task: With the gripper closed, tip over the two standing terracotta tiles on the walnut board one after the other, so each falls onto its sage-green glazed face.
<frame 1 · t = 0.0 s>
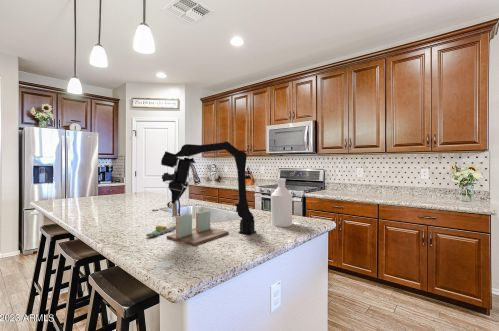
hand: (174, 202, 127), 15 cm above the worktop, tool pointing down, fingers open, 9 cm apart
bottle: (281, 224, 148), on the worktop
board: (198, 236, 124), on the worktop
tile b: (184, 235, 121), point 1 cm above the worktop, touching board
tile a: (203, 229, 131), point 1 cm above the worktop, touching board
flamethrower: (166, 231, 135), on the worktop
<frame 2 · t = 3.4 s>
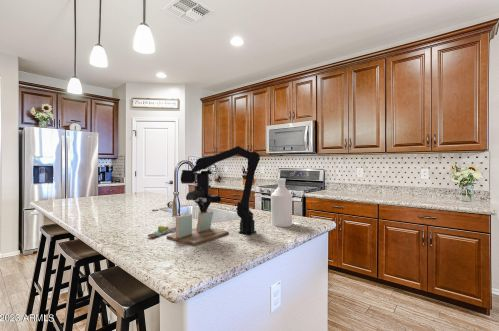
hand: (203, 215, 131), 8 cm above the worktop, tool pointing down, fingers closed
tile a: (203, 229, 131), point 1 cm above the worktop, tilted 14°, touching board
flamethrower: (168, 232, 135), on the worktop
everything else where it was.
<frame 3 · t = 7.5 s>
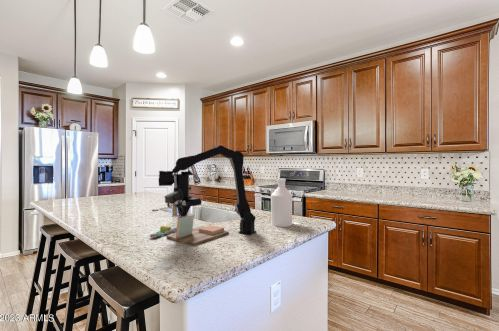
hand: (183, 219, 122), 8 cm above the worktop, tool pointing down, fingers closed
tile b: (184, 235, 121), point 1 cm above the worktop, tilted 8°, touching board, gripper
tile a: (204, 228, 130), point 2 cm above the worktop, tilted 90°, touching board
flamethrower: (171, 232, 134), on the worktop
everything else where it was.
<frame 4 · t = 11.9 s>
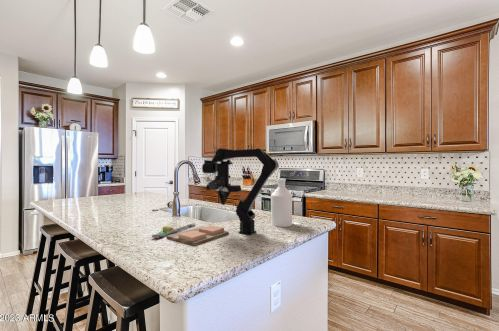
hand: (223, 204, 134), 13 cm above the worktop, tool pointing down, fingers closed
tile b: (185, 234, 121), point 2 cm above the worktop, tilted 90°, touching board
flamethrower: (173, 232, 133), on the worktop
everything else where it was.
at the end: tile a tilted 90°; tile b tilted 90°; tile b inside the target area (2.0 cm from its centre), point 2.0 cm above the worktop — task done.
